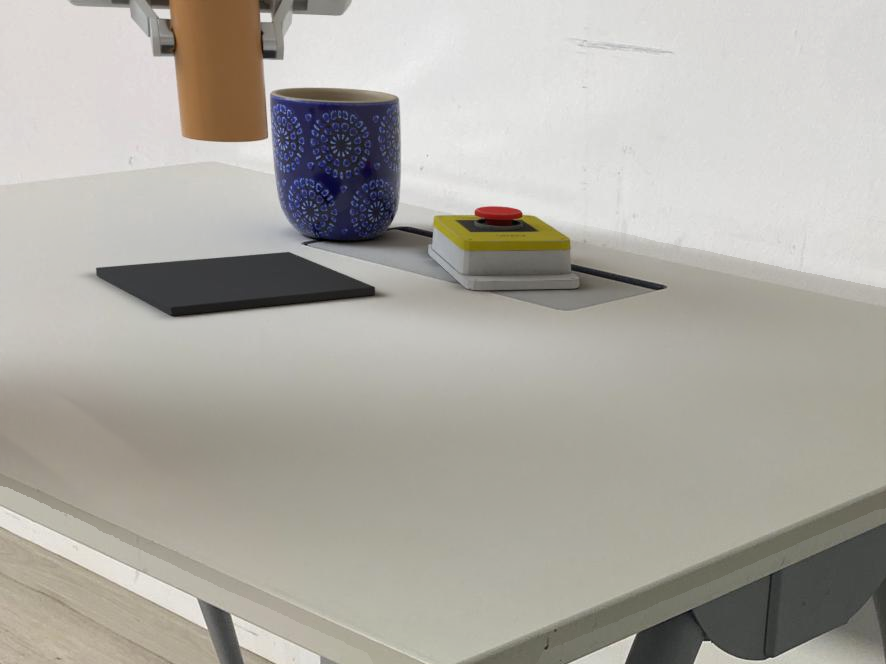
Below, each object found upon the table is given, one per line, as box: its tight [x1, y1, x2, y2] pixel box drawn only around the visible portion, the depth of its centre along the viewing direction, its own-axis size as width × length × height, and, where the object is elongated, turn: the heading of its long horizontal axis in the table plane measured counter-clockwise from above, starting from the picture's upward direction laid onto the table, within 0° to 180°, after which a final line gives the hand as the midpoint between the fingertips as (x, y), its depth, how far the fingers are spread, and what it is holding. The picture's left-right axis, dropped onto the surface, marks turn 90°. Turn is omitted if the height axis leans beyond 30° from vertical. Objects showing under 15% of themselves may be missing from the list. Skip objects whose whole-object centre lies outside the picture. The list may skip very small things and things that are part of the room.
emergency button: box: [427, 205, 580, 291], centre depth 116 cm, size 9×4×15 cm
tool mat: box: [95, 251, 376, 317], centre depth 107 cm, size 16×14×1 cm
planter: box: [269, 87, 402, 242], centre depth 124 cm, size 11×11×11 cm
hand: (220, 52), depth 98 cm, fingers closed on pliers tin, 6 cm apart
